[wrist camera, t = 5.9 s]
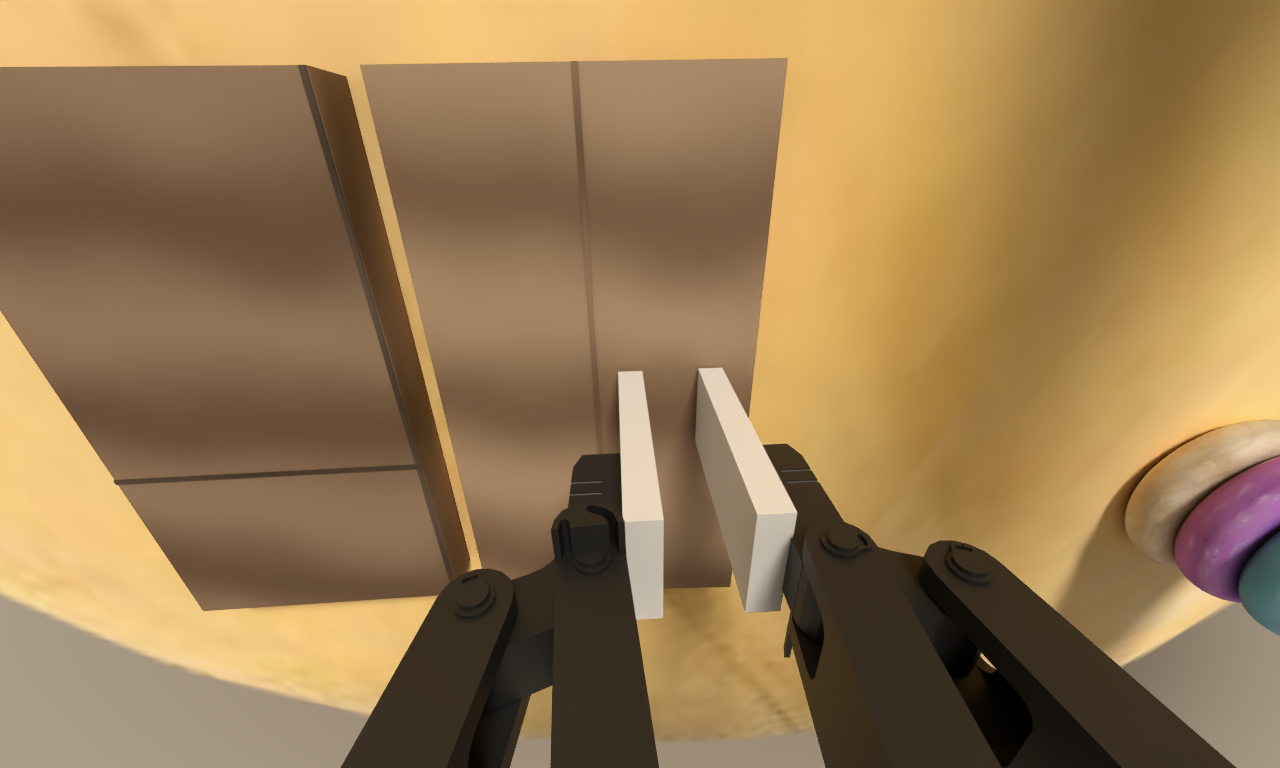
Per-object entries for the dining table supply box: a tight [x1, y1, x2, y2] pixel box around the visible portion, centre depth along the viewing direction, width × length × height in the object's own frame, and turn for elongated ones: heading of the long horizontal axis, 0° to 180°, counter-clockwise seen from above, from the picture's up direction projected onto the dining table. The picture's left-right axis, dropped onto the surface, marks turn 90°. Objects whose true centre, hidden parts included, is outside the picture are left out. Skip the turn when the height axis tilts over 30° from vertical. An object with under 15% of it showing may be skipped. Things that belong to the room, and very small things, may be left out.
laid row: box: [0, 65, 470, 611], centre depth 15 cm, size 18×10×2 cm, turn 1°
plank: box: [360, 58, 788, 588], centre depth 16 cm, size 18×10×2 cm, turn 1°
